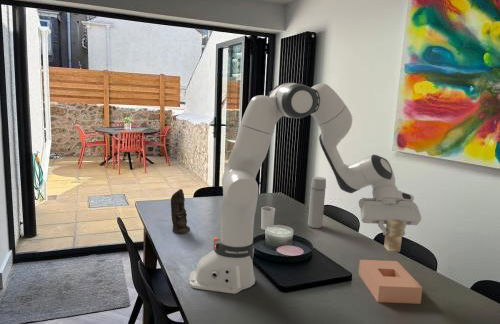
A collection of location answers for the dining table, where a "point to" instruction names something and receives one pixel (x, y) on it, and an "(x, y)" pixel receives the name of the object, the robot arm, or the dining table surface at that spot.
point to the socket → (390, 282)
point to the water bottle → (317, 202)
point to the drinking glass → (267, 217)
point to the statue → (179, 213)
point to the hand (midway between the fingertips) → (394, 234)
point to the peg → (393, 235)
